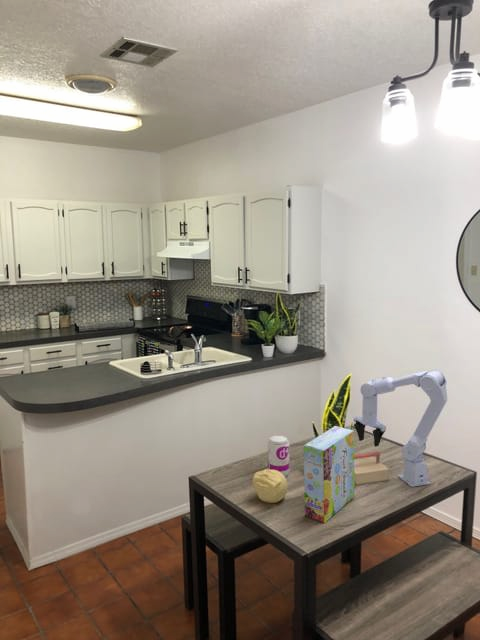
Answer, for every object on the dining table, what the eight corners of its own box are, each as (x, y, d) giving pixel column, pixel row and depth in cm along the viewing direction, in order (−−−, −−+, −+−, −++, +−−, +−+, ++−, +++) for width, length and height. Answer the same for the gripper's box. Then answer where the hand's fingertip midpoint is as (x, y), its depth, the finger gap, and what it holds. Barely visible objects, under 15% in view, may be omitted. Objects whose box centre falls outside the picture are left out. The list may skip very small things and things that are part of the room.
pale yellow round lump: (248, 499, 184) (247, 471, 182) (268, 487, 192) (268, 460, 191) (273, 510, 176) (272, 481, 174) (293, 497, 185) (293, 469, 183)
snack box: (333, 490, 189) (334, 424, 185) (355, 498, 184) (356, 430, 180) (302, 515, 173) (302, 443, 168) (324, 524, 167) (325, 450, 163)
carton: (388, 480, 197) (389, 469, 196) (356, 485, 193) (356, 474, 192) (373, 467, 208) (373, 456, 207) (341, 471, 204) (342, 461, 204)
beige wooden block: (381, 464, 201) (381, 452, 201) (349, 468, 198) (349, 456, 197) (373, 457, 207) (373, 446, 206) (342, 462, 204) (342, 450, 203)
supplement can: (292, 476, 201) (292, 440, 198) (273, 480, 198) (273, 444, 195) (283, 468, 208) (283, 433, 206) (265, 471, 205) (264, 436, 203)
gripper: (391, 413, 201) (390, 445, 203) (361, 404, 213) (360, 435, 215) (380, 417, 197) (379, 450, 199) (350, 408, 208) (349, 439, 210)
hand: (368, 442), depth 207 cm, fingers open, 7 cm apart
